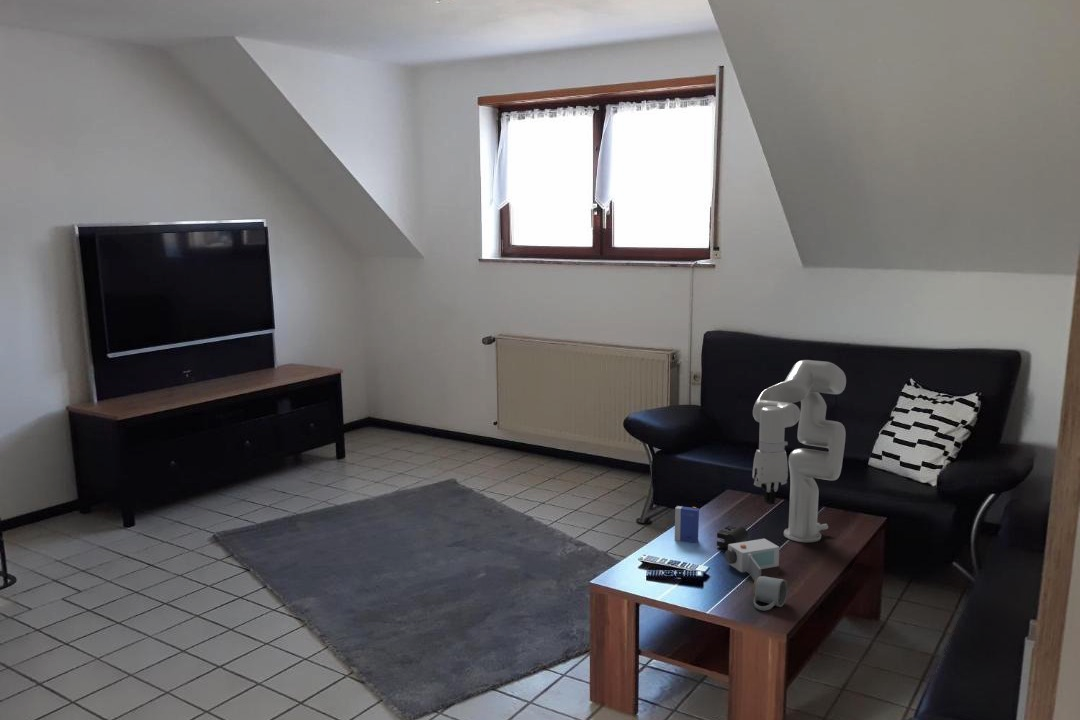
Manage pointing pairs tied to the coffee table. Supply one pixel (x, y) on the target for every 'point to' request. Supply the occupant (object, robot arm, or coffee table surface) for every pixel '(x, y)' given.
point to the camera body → (760, 550)
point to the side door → (753, 568)
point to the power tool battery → (731, 537)
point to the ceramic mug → (769, 592)
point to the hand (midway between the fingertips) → (769, 502)
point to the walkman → (686, 524)
